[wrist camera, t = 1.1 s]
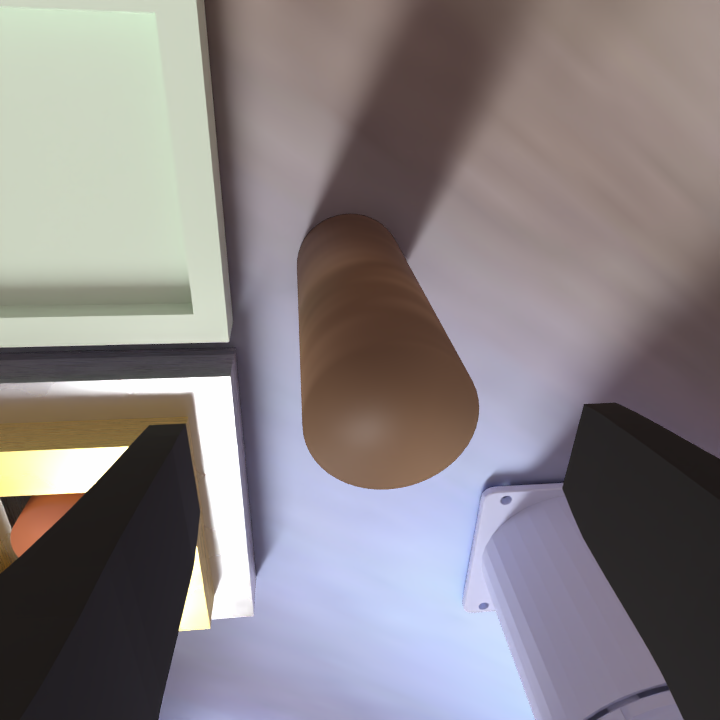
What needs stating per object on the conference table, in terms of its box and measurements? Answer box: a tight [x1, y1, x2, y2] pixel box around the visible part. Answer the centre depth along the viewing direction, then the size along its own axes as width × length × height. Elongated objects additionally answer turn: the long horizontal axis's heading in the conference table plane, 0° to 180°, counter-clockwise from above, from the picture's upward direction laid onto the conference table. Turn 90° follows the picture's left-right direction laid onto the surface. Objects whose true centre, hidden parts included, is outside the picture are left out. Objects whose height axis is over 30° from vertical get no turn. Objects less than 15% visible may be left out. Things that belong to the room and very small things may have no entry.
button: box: [10, 492, 86, 558], centre depth 20 cm, size 4×4×1 cm
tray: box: [0, 0, 233, 348], centre depth 16 cm, size 10×10×2 cm
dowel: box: [297, 214, 479, 489], centre depth 15 cm, size 4×4×9 cm
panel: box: [0, 348, 256, 631], centre depth 20 cm, size 12×12×4 cm
